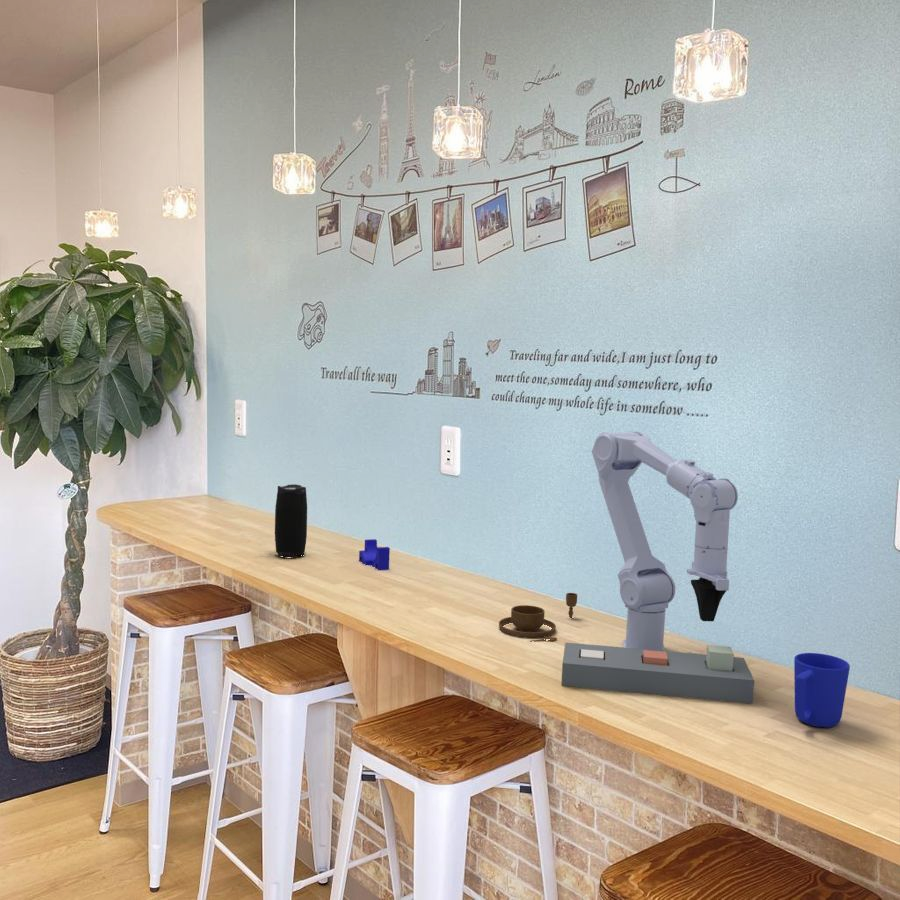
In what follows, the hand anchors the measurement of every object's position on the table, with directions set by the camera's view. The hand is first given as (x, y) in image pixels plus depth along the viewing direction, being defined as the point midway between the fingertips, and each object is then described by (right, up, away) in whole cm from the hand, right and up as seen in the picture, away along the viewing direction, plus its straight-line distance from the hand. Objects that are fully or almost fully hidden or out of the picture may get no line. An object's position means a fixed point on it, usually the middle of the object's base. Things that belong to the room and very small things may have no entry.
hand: (707, 620), depth 164 cm
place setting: (-27, -8, +27) cm, 39 cm away
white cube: (-21, -10, -1) cm, 23 cm away
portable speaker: (-91, +1, +88) cm, 127 cm away
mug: (+11, -13, -20) cm, 26 cm away
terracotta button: (-10, -9, -3) cm, 14 cm away
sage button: (+1, -8, -5) cm, 10 cm away
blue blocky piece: (-67, -1, +81) cm, 105 cm away
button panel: (-10, -10, -3) cm, 15 cm away
